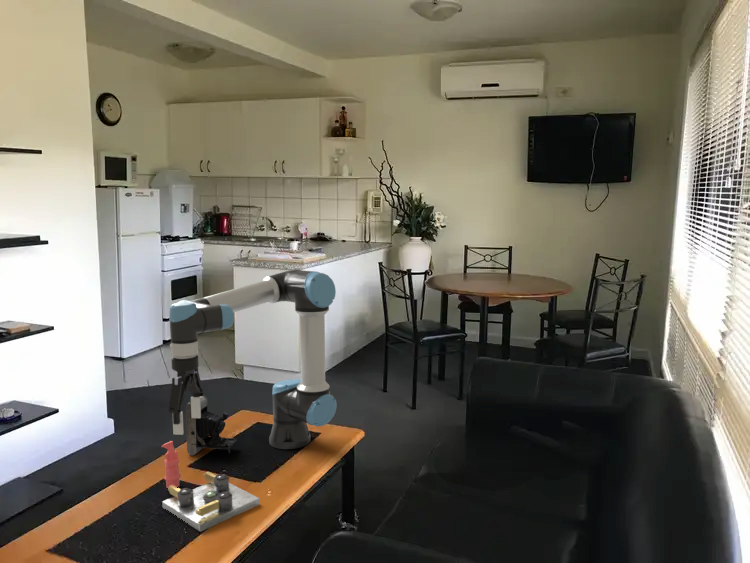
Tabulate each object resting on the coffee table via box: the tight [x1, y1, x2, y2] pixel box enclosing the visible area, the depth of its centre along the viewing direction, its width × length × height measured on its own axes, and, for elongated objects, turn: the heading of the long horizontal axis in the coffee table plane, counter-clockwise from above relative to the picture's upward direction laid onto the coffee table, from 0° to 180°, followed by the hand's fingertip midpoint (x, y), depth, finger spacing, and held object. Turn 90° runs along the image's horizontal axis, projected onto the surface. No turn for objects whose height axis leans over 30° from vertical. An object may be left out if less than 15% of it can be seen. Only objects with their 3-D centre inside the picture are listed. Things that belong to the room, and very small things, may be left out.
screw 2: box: [203, 471, 230, 491], centre depth 192 cm, size 11×4×4 cm, turn 48°
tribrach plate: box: [161, 482, 260, 532], centre depth 183 cm, size 20×20×4 cm
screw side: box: [196, 492, 232, 516], centre depth 176 cm, size 11×4×4 cm, turn 138°
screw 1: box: [167, 485, 194, 506], centre depth 183 cm, size 11×4×4 cm, turn 48°
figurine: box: [161, 440, 182, 489], centre depth 195 cm, size 5×5×15 cm
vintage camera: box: [185, 394, 238, 457], centre depth 222 cm, size 10×16×20 cm, turn 78°
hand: (187, 425), depth 184 cm, fingers open, 13 cm apart
